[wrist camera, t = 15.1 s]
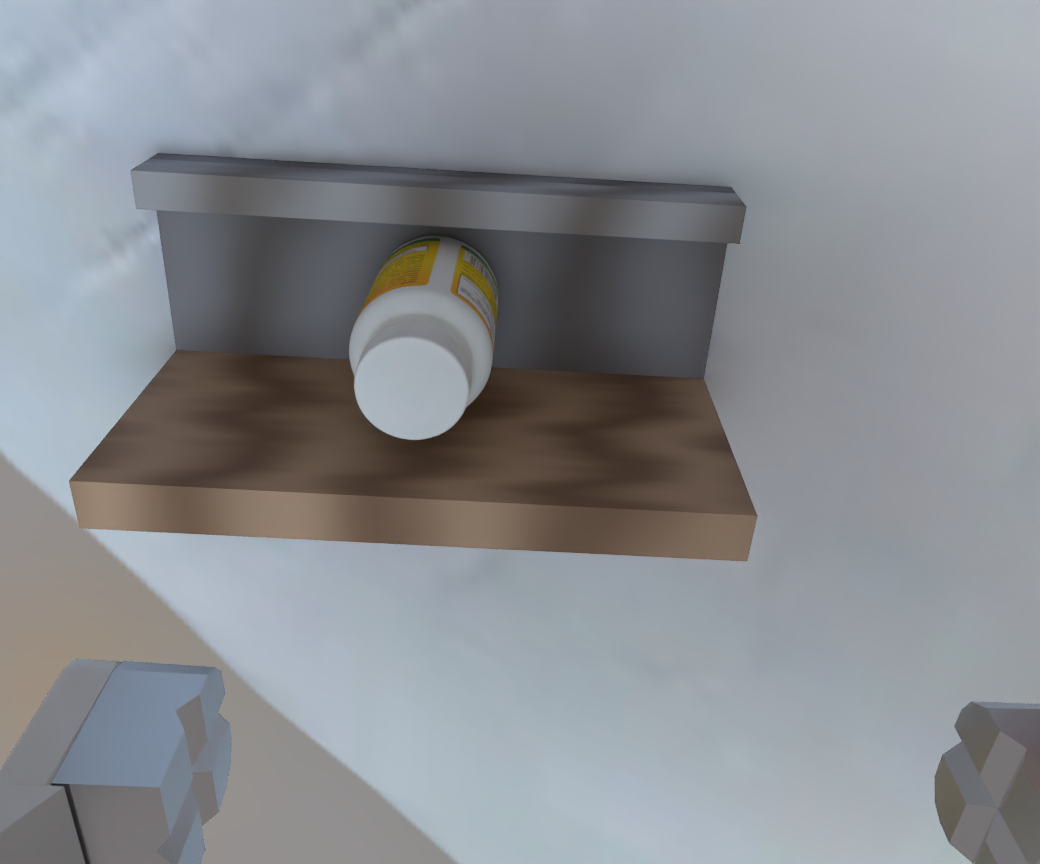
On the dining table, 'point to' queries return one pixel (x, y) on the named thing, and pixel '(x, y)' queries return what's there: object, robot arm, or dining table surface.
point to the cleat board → (485, 422)
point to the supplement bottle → (424, 337)
